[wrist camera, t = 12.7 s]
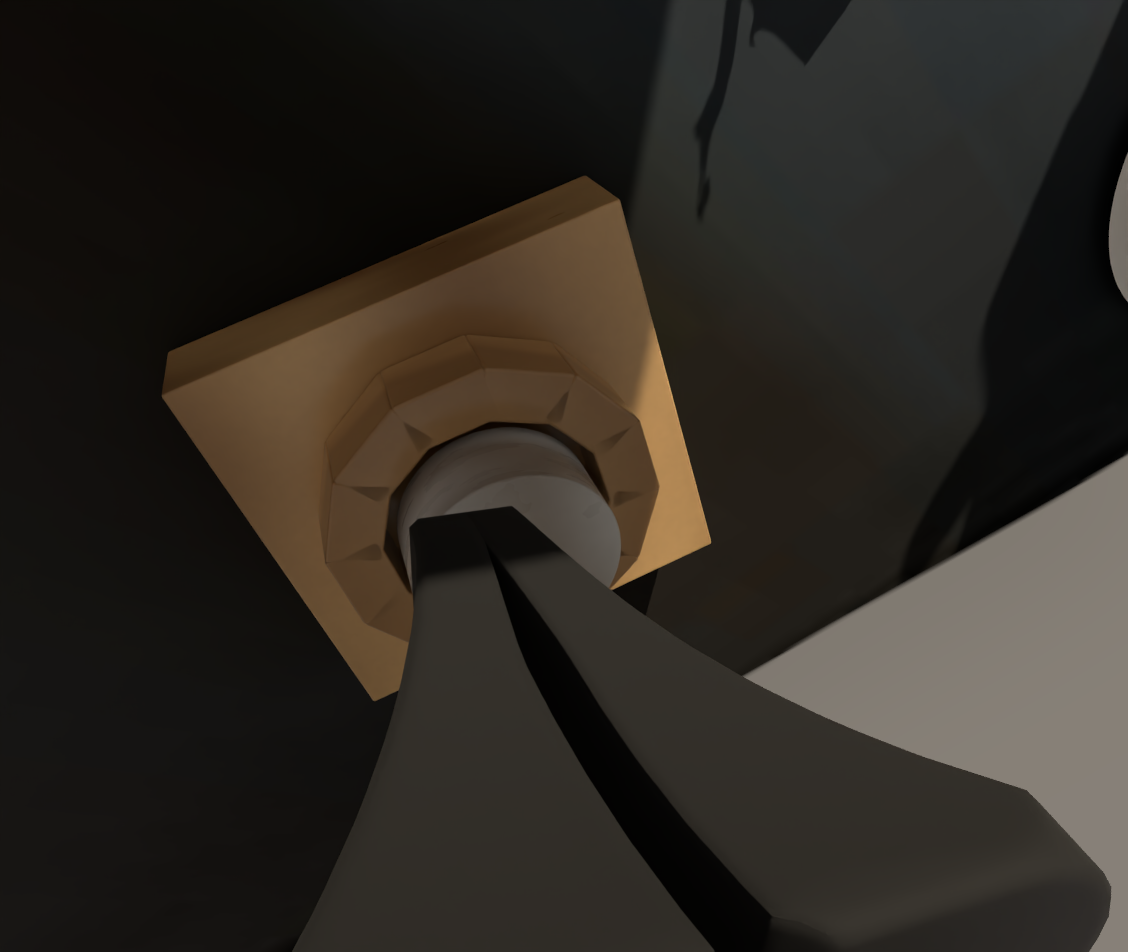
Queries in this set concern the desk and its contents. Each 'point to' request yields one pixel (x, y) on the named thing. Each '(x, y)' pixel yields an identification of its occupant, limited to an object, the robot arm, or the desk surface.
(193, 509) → the desk surface
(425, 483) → the flask lid
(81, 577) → the desk surface
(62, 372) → the desk surface
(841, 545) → the desk surface
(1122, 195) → the teacup
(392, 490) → the lid base
